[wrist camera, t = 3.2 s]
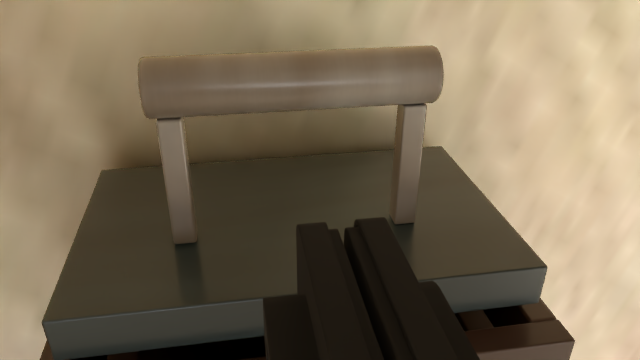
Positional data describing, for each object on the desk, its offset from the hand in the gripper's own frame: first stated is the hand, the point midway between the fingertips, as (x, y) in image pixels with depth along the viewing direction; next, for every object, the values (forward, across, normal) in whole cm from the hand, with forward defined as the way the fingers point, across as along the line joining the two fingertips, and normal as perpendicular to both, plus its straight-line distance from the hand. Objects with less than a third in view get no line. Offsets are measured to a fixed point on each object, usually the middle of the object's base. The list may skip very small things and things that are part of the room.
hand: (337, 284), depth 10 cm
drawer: (+9, 0, +6) cm, 11 cm away
